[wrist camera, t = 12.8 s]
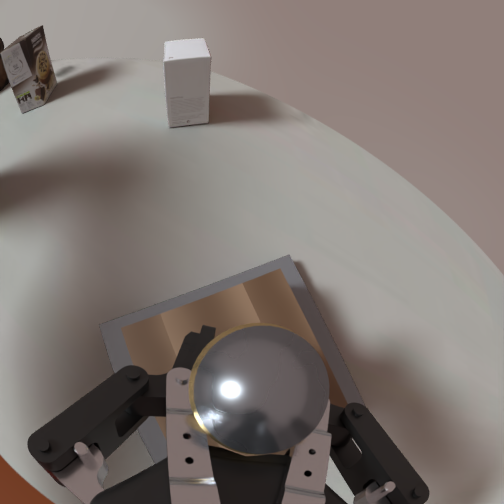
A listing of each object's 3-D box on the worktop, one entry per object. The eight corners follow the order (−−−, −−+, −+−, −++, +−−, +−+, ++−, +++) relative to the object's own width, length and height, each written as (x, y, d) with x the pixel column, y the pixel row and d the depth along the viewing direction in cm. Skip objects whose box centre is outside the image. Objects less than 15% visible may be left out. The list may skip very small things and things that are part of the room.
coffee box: (45, 104, 34) (24, 38, 19) (21, 114, 33) (-2, 53, 18) (58, 83, 38) (43, 23, 23) (35, 92, 36) (18, 36, 22)
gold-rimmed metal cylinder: (219, 419, 16) (226, 480, 6) (193, 365, 18) (163, 351, 7) (275, 395, 18) (355, 415, 7) (249, 342, 19) (297, 296, 8)
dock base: (176, 489, 15) (174, 495, 14) (105, 327, 21) (99, 324, 20) (358, 407, 21) (366, 408, 19) (285, 260, 26) (289, 254, 25)
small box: (209, 124, 34) (212, 56, 24) (167, 129, 32) (162, 61, 23) (203, 95, 37) (205, 37, 27) (167, 99, 36) (164, 40, 26)
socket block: (196, 468, 16) (193, 486, 12) (136, 336, 20) (120, 327, 16) (330, 408, 19) (352, 413, 16) (269, 285, 23) (280, 268, 20)
